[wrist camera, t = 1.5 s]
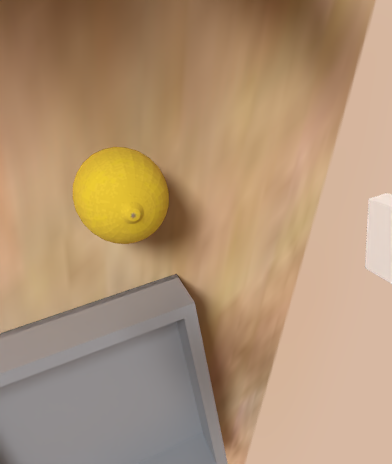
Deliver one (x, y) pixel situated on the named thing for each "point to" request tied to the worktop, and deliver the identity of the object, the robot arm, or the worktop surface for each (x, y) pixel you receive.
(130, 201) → the lemon
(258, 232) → the worktop surface
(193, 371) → the box
